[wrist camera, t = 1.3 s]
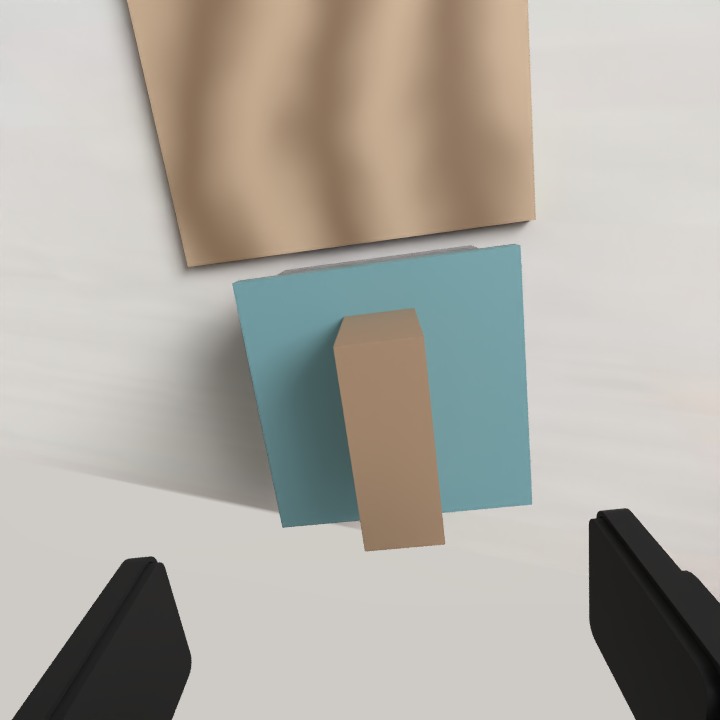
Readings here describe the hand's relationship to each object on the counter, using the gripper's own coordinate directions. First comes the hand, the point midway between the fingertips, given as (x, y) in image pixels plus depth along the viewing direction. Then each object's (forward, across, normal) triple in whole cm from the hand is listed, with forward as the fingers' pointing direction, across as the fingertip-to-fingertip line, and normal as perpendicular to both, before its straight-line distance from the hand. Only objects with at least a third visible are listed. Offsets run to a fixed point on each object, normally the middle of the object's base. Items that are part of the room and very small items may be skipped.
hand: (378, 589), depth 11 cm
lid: (+14, -1, 0) cm, 14 cm away
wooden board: (+21, 0, -14) cm, 25 cm away
